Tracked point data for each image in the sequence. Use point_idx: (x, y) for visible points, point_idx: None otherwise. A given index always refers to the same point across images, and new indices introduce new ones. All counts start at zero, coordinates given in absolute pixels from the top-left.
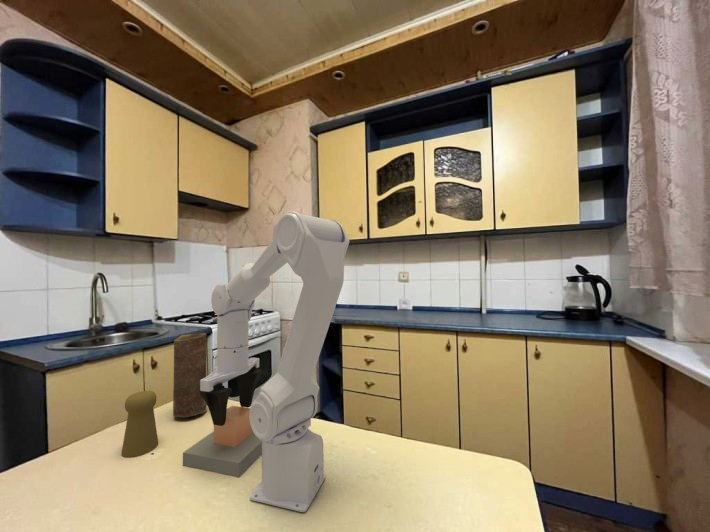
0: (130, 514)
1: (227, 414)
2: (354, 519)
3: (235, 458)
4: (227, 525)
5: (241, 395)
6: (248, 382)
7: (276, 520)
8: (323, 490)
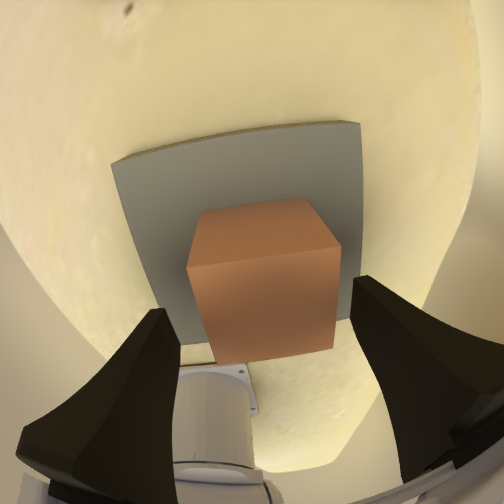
0: (17, 224)
1: (241, 307)
2: None
3: (184, 328)
4: None
5: (379, 320)
6: (405, 415)
7: None
8: None
